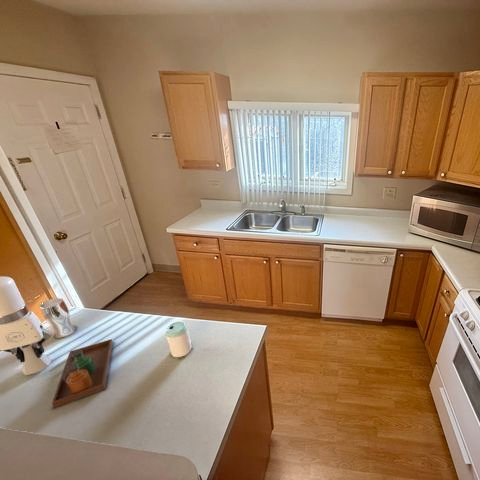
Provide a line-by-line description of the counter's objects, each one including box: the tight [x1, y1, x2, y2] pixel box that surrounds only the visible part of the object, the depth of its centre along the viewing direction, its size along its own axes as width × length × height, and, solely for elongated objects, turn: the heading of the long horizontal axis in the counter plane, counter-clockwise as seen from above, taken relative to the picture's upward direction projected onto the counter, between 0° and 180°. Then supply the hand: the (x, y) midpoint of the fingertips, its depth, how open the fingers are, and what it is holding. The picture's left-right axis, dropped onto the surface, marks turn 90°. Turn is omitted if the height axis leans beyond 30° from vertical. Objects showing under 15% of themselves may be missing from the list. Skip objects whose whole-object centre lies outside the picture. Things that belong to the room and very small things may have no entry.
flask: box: [19, 344, 53, 376], centre depth 87 cm, size 7×7×10 cm
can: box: [165, 321, 193, 358], centre depth 96 cm, size 7×7×12 cm
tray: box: [51, 339, 114, 408], centre depth 88 cm, size 22×12×2 cm, turn 31°
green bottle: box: [71, 348, 96, 375], centre depth 86 cm, size 5×5×9 cm
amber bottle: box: [66, 364, 93, 394], centre depth 81 cm, size 5×5×9 cm
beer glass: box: [38, 297, 76, 339], centre depth 101 cm, size 7×7×15 cm
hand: (32, 356), depth 87 cm, fingers closed on flask, 3 cm apart
